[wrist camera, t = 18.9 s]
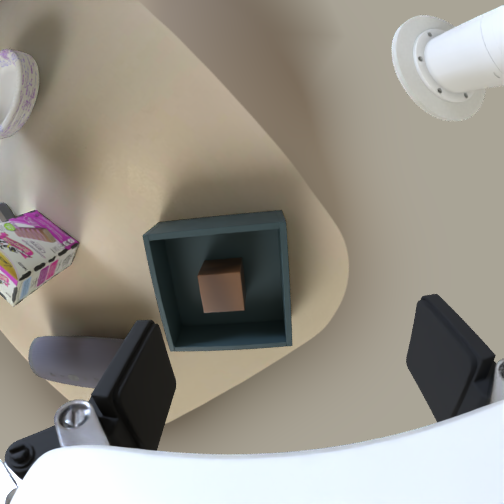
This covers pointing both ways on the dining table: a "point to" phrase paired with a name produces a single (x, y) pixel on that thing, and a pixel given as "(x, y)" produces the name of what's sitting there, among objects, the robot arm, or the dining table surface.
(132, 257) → the dining table surface
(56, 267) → the candy bar box
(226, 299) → the walnut block
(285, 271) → the square open bin
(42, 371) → the bluetooth speaker
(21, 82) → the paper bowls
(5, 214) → the liquor
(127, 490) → the robot arm
